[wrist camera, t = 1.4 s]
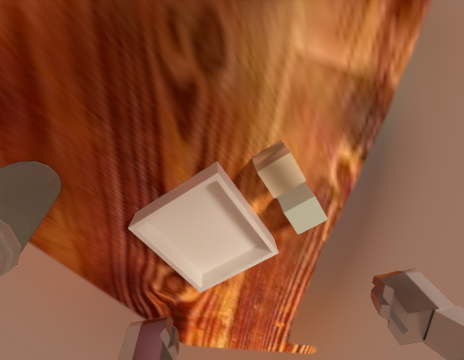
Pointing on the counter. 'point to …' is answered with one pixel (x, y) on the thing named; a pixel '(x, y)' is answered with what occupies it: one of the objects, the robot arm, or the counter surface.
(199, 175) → the tray
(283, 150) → the maple block
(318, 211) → the sage block
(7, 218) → the disposable coffee cup
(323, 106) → the counter surface
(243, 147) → the counter surface
